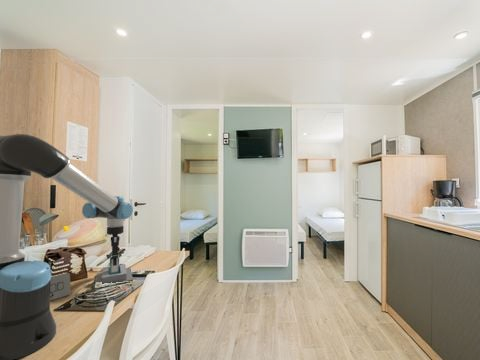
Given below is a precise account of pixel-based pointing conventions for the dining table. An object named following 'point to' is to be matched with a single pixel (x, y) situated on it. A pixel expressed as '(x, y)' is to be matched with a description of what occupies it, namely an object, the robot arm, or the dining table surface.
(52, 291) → the electrical switch
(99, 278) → the socket
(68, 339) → the dining table surface
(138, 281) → the dining table surface
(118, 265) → the plug
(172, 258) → the dining table surface
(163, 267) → the dining table surface
